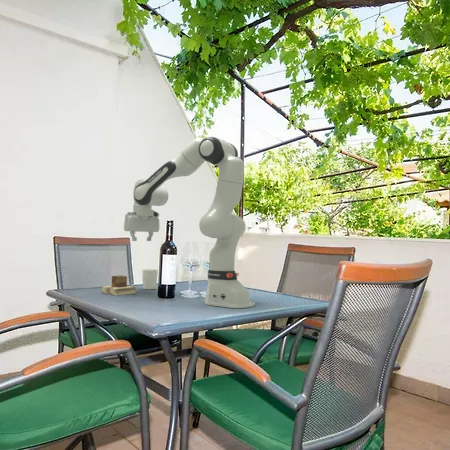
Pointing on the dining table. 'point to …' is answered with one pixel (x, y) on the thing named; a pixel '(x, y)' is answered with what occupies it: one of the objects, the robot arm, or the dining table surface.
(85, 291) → the dining table surface
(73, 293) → the dining table surface
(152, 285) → the white cup
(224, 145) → the robot arm
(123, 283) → the walnut cube
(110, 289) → the birch plinth
